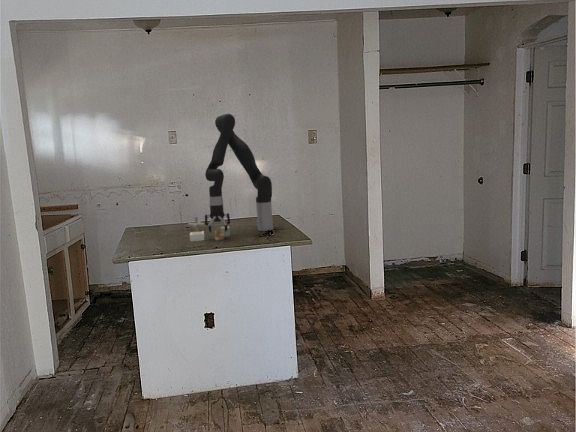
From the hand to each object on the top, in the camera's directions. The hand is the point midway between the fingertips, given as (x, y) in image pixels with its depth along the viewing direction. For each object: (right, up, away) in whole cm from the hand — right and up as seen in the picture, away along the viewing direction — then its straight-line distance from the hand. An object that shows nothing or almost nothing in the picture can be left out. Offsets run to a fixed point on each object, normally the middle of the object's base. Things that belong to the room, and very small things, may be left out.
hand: (218, 231), depth 296 cm
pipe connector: (-16, -1, +22) cm, 27 cm away
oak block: (+1, -4, +1) cm, 4 cm away
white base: (-12, -5, +3) cm, 13 cm away
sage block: (+3, -3, +9) cm, 10 cm away
